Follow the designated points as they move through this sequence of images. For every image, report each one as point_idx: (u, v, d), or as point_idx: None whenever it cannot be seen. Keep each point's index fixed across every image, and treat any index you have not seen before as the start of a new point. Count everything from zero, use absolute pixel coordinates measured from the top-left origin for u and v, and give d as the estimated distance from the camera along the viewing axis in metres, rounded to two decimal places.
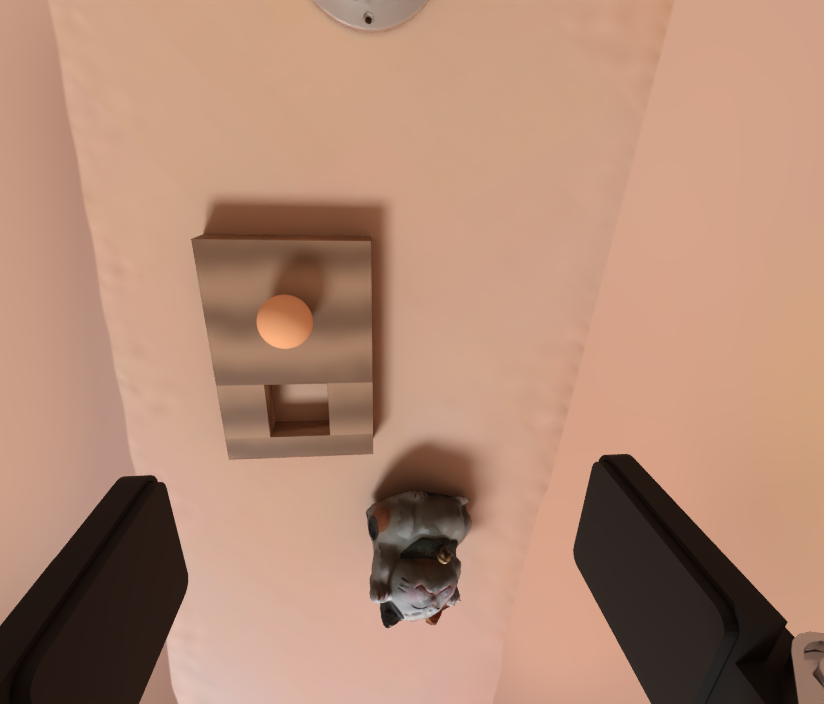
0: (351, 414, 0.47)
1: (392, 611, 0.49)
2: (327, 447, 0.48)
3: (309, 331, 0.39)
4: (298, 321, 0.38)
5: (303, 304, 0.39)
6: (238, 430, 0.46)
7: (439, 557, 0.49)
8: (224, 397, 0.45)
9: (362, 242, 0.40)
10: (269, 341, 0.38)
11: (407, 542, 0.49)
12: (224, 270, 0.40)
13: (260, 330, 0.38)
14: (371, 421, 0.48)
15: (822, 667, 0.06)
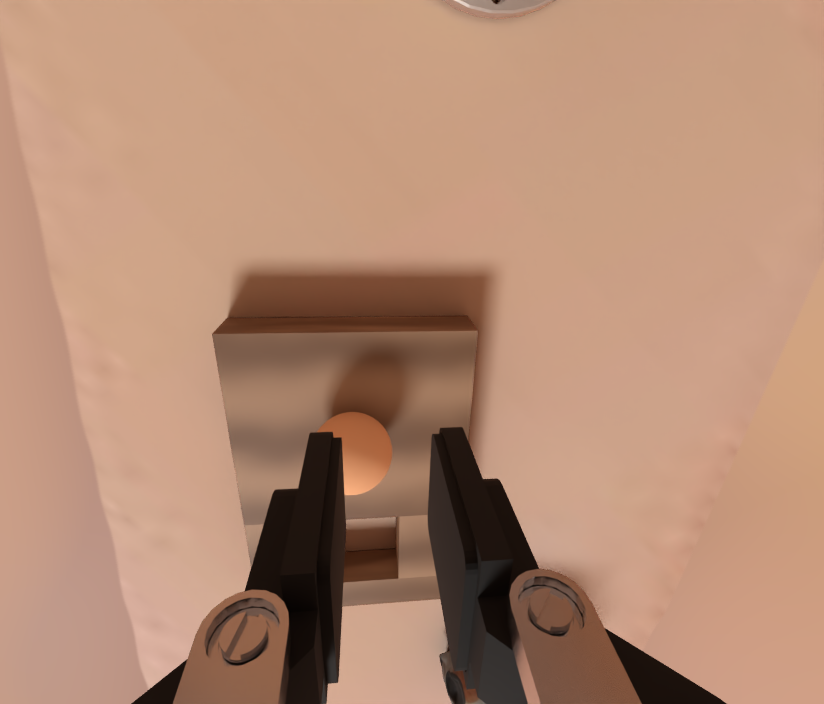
0: (429, 552, 0.34)
1: None
2: (393, 592, 0.35)
3: (388, 468, 0.26)
4: (376, 461, 0.25)
5: (380, 429, 0.26)
6: None
7: None
8: (255, 539, 0.31)
9: (465, 332, 0.27)
10: None
11: None
12: (260, 375, 0.26)
13: None
14: None
15: (532, 607, 0.06)
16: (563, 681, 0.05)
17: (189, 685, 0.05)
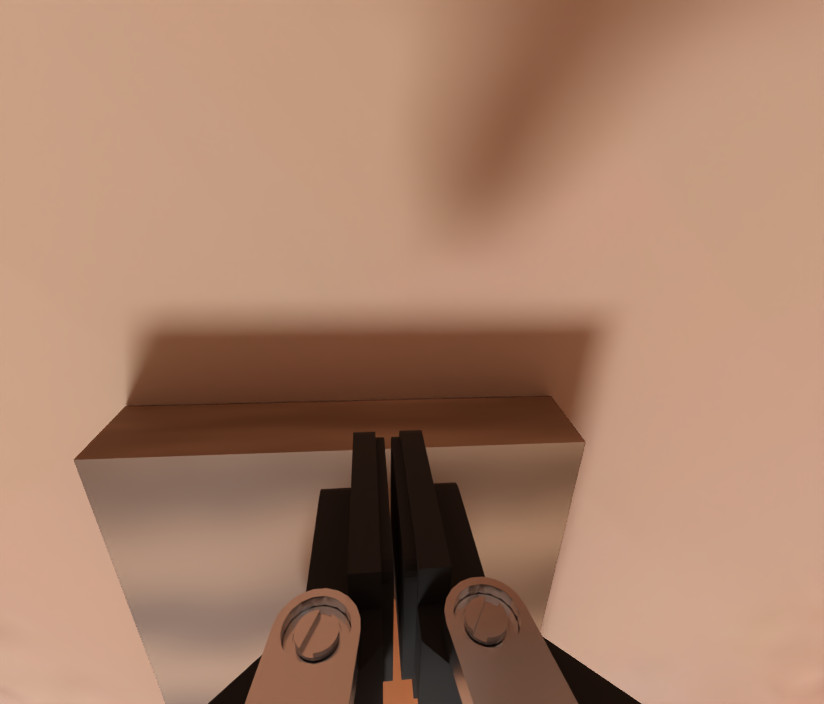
0: None
1: None
2: None
3: None
4: None
5: None
6: None
7: None
8: None
9: (562, 445, 0.14)
10: None
11: None
12: (178, 524, 0.14)
13: None
14: None
15: (468, 620, 0.06)
16: (487, 695, 0.05)
17: (272, 682, 0.05)
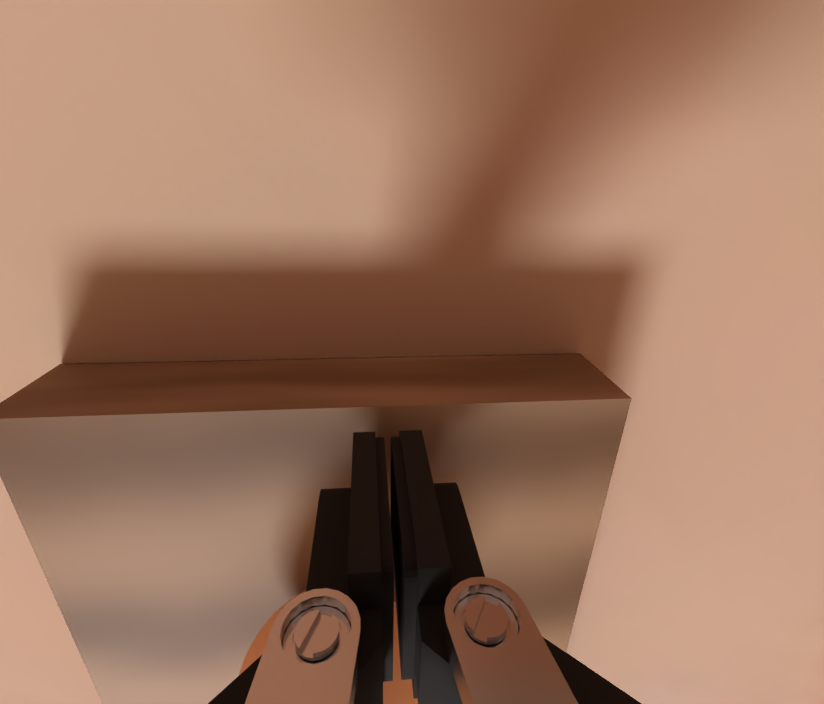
0: None
1: None
2: None
3: None
4: None
5: None
6: None
7: None
8: None
9: (602, 403, 0.11)
10: None
11: None
12: (119, 506, 0.11)
13: None
14: None
15: (468, 620, 0.06)
16: (487, 694, 0.05)
17: (272, 683, 0.05)
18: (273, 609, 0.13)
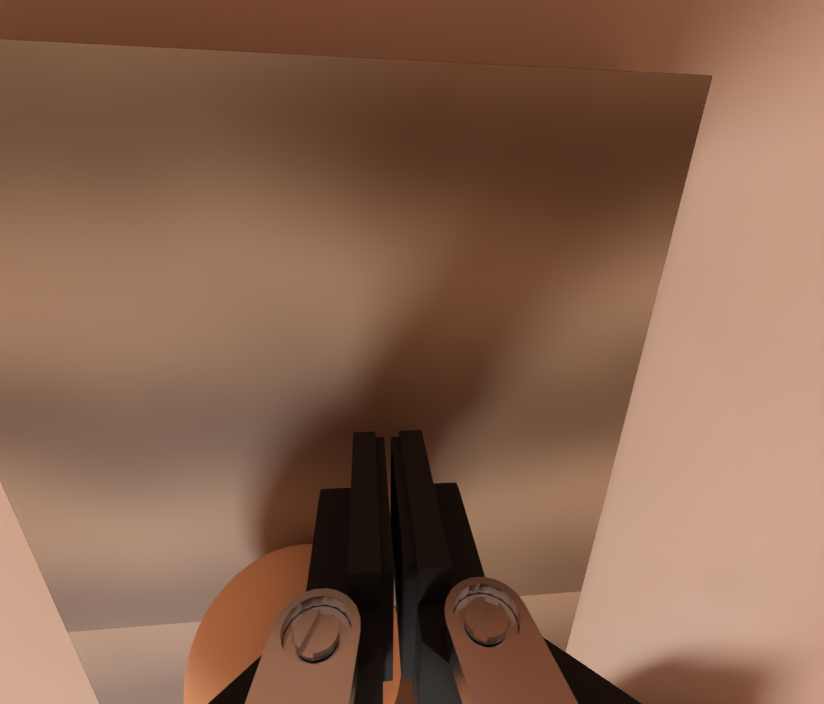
0: None
1: None
2: None
3: None
4: None
5: None
6: None
7: None
8: (102, 659, 0.13)
9: (673, 80, 0.09)
10: None
11: None
12: (22, 211, 0.08)
13: None
14: None
15: (468, 620, 0.06)
16: (487, 694, 0.05)
17: (272, 683, 0.05)
18: (240, 402, 0.10)
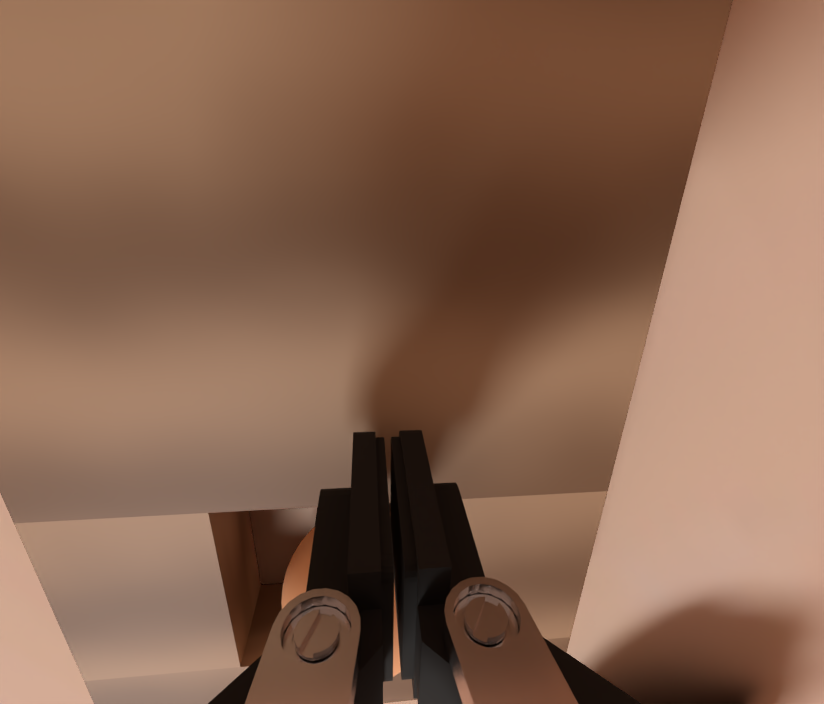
0: (515, 589, 0.14)
1: None
2: None
3: None
4: None
5: None
6: (127, 655, 0.13)
7: None
8: (56, 560, 0.12)
9: None
10: None
11: None
12: None
13: None
14: (574, 605, 0.14)
15: (468, 620, 0.06)
16: (487, 694, 0.05)
17: (272, 682, 0.05)
18: (208, 215, 0.09)
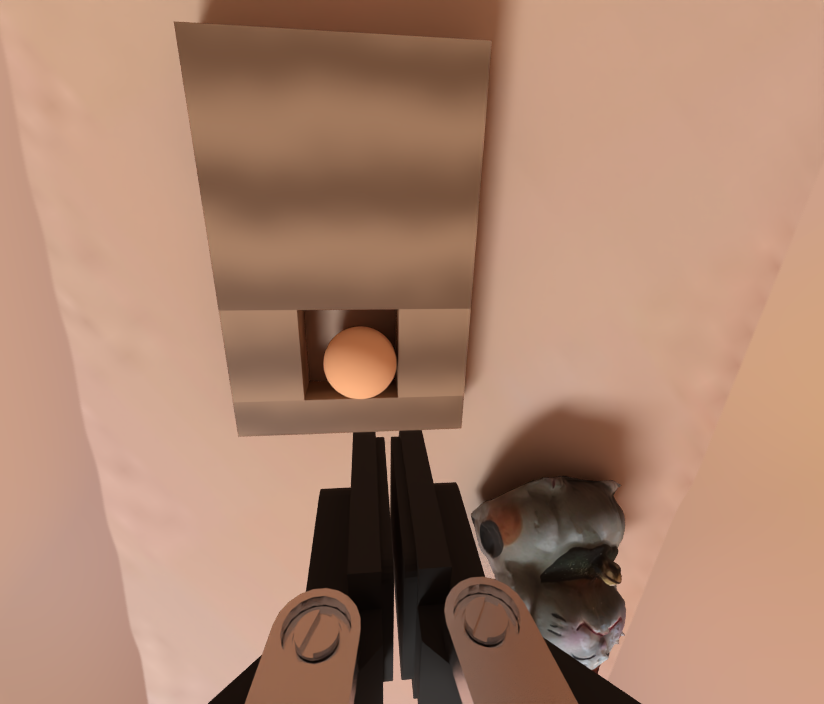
0: (433, 362, 0.29)
1: None
2: (392, 417, 0.31)
3: None
4: None
5: None
6: (254, 388, 0.29)
7: (604, 576, 0.31)
8: (232, 331, 0.27)
9: (477, 42, 0.23)
10: (375, 343, 0.28)
11: (550, 557, 0.32)
12: (233, 89, 0.22)
13: (357, 347, 0.27)
14: (463, 375, 0.30)
15: (468, 620, 0.06)
16: (487, 695, 0.05)
17: (272, 683, 0.05)
18: (307, 181, 0.24)
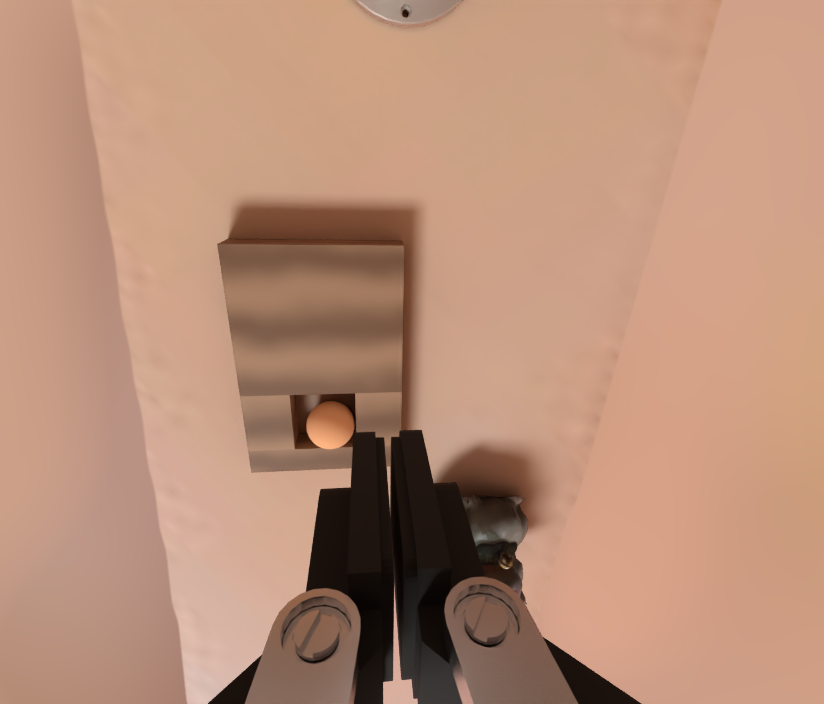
0: (379, 424, 0.45)
1: None
2: None
3: None
4: None
5: None
6: (262, 442, 0.44)
7: (500, 562, 0.47)
8: (248, 408, 0.43)
9: (395, 246, 0.38)
10: (338, 415, 0.43)
11: None
12: (251, 276, 0.38)
13: (326, 418, 0.43)
14: None
15: (468, 620, 0.06)
16: (487, 695, 0.05)
17: (272, 682, 0.05)
18: (295, 322, 0.40)
